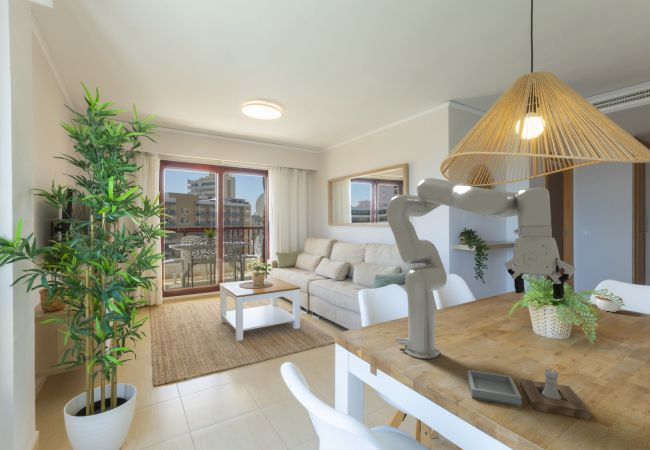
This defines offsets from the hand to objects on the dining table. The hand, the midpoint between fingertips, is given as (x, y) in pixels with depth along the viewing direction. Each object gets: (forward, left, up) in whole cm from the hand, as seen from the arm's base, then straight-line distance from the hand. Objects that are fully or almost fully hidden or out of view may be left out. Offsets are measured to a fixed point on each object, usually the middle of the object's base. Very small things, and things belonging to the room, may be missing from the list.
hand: (538, 295), depth 81 cm
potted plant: (+63, +109, -28) cm, 129 cm away
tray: (-11, -1, -28) cm, 30 cm away
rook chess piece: (+3, -1, -28) cm, 28 cm away
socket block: (+3, -1, -28) cm, 28 cm away
